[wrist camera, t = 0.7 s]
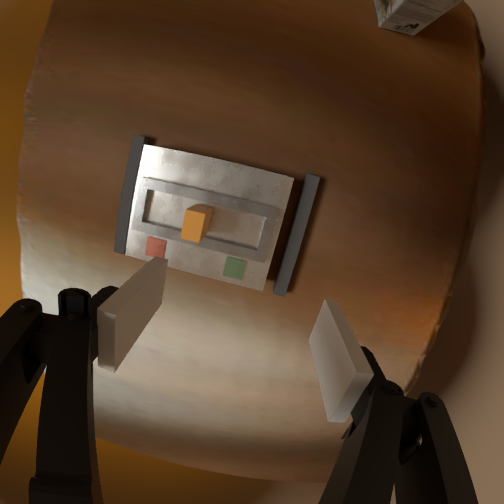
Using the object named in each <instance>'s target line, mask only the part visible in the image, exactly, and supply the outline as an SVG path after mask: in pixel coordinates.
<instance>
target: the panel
mask: <svg viewBox="0 0 504 504" xmlns="http://www.w3.org/2000/svg"><path fill="white" fill-rule="evenodd" d="M293 181H294V178H292V177H288V176H285V175H281V174H277V173H273V172H270V171H266V170H262V169H258V168H254V167H250V166H246V165H242V164H238V163H233V162H229V161H225V160H220V159H216V158H211V157H207V156H202V155H197V154H193V153H188V152H183V151H178V150H172V149H167V148H162V147H156V146H151V145H145V144H144V148H143V152H142V157H141V162H140V166H139V171H138V176H137V181H136V187H135V192H134V198H133V204H132V210H131V216H130V223H129V229H128V237H127V244H126V252H125V255H128V256H131V257H135V258H138V259H142V260H145V261H150V260H151V259H153V258H154V257H155V256H157V257H161V258H165V259H168V265H167V267H171V268H174V269H178V270H182V271H186V272H189V273H193V274H197V275H201V276H205V277H208V278H212V279H216V280H220V281H224V282H228V283H232V284H236V285H240V286H244V287H248V288H252V289H256V290H260V291H263V288H264V284H265V281H266V277H267V274H268V271H269V267H270V264H271V260H272V257H273V253H274V250H275V246H276V242H277V239H278V235H279V232H280V228H281V225H282V221H283V217H284V214H285V210H286V207H287V203H288V199H289V196H290V192H291V188H292V185H293ZM195 204H201V205H205V206H209V207H213V211H212V215H211V220H210V224H209V229H208V233H207V234H206V235H205V236H204V238H203V239H202V240H201V241H200V242H199V243H197V242H193V241H189V240H185V239H181V238H180V236H181V231H182V226H183V221H184V216H185V212H186V209H187V208H189V207H191V206H193V205H195Z"/></svg>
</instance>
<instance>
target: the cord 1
mask: <svg viewBox="0 0 504 504" xmlns="http://www.w3.org/2000/svg"><path fill="white" fill-rule="evenodd" d="M148 140H149V138H148V137H144V136H137V135H134V137H133V141H132V145H131V150H130V154H129V159H128V164H127V169H126V174H125V179H124V185H123V191H122V197H121V203H120V209H119V216H118V223H117V231H116V239H115V248H114V252H117V253H120V254H125V252H126V244H127V237H128V229H129V223H130V216H131V210H132V204H133V198H134V192H135V187H136V181H137V176H138V171H139V166H140V162H141V157H142V152H143V148H144V144H145V145H148Z"/></svg>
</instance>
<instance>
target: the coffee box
mask: <svg viewBox="0 0 504 504" xmlns="http://www.w3.org/2000/svg"><path fill="white" fill-rule="evenodd" d="M462 1H464V0H374V3H375V8H376V13H377V19H378V24H379V27H380V28H384V29H389V30H393V31H397V32H401V33H405V34H409V35H413V36H414V35H416V34H417V33H418V32H420V31H421V30H422V29H424V28H425V27H426V26H428V25H429V24H430V23H432V22H433V21H435V20H436V19H437V18H439V17H440V16H442V15H443V14H445V13H446V12H447V11H449V10H450V9H452V8H453V7H455V6H456V5H458V4H459V3H461V2H462Z"/></svg>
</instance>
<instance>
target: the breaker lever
mask: <svg viewBox="0 0 504 504" xmlns="http://www.w3.org/2000/svg"><path fill="white" fill-rule="evenodd" d="M212 211H213V207H209V206H205V205H201V204H195V205H193V206H191V207H189V208H187V209H186V212H185V216H184V221H183V226H182V231H181V236H180V238H181V239H185V240H189V241H193V242H197V243H199V242H200V241H201V240H202V239H203V238H204V236H205V235H206V234H207V233H208V229H209V224H210V220H211V215H212Z"/></svg>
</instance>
